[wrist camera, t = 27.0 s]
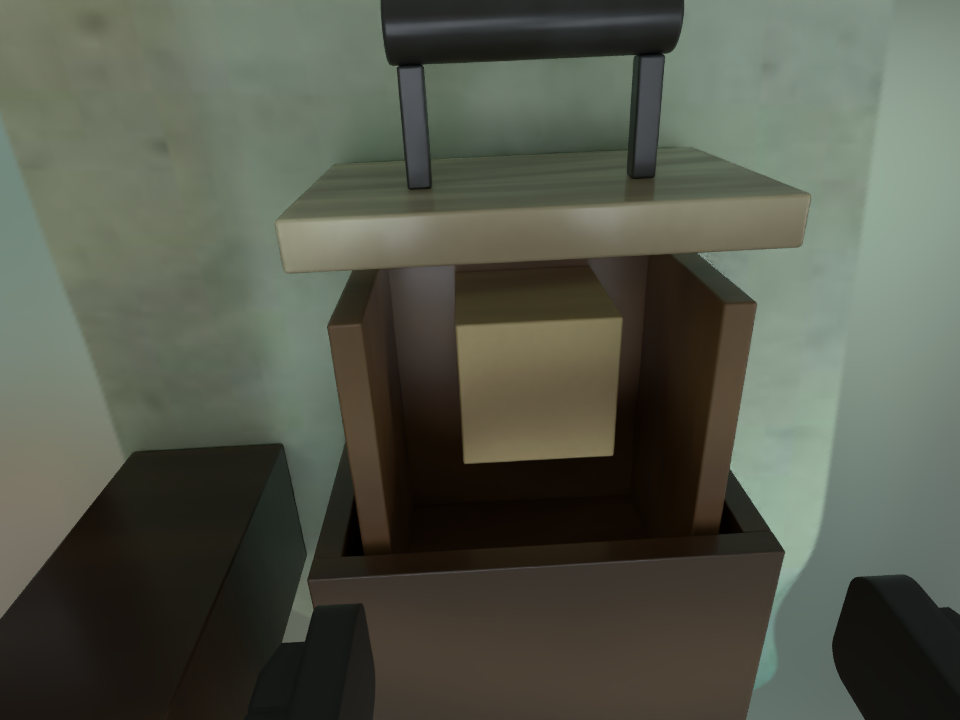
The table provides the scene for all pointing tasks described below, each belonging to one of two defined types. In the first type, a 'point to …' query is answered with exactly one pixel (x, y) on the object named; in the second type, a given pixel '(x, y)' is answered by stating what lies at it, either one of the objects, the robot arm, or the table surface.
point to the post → (160, 593)
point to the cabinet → (559, 621)
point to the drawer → (532, 245)
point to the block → (536, 364)
